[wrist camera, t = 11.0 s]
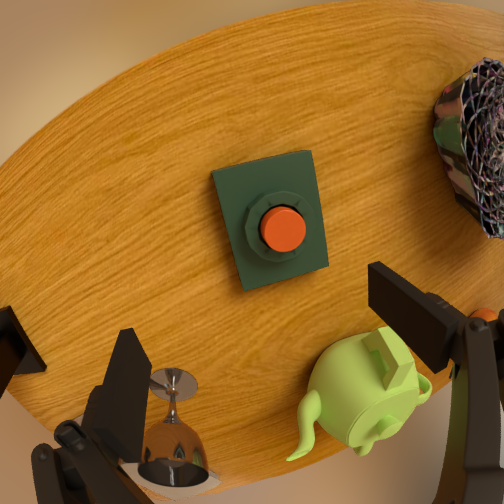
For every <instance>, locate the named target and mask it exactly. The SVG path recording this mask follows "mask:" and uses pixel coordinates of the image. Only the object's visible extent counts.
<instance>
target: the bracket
mask: <svg viewBox="0 0 504 504" xmlns="http://www.w3.org/2000/svg"><path fill="white" fill-rule="evenodd" d="M46 367H47V366H46V364H45V363H44V361H43V360H42V358H41V357H40V355H39V354H38V352H37V351H36V349H35V348H34V346H33V345H32V343H31V341H30V340H29V338H28V336H27V335H26V333H25V331H24V330H23V328H22V326H21V325H20V323H19V321H18V319H17V317H16V316H15V314H14V312H13V310H12V308H11V306H7V307H4V308H1V309H0V398H1V397H2V394H3V393H4V391H5V389H6V387H7V385H8V384H9V382H10V380H11V378H12V376H13V375H19V374H29V373H37V372H44V371H45V369H46Z"/></svg>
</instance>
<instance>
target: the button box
mask: <svg viewBox="0 0 504 504" xmlns="http://www.w3.org/2000/svg"><path fill="white" fill-rule="evenodd" d="M211 172H212V176H213V180H214V184H215V187H216V191H217V195H218V199H219V203H220V207H221V211H222V214H223V218H224V222H225V226H226V230H227V233H228V237H229V241H230V245H231V248H232V252H233V256H234V259H235V263H236V267H237V270H238V274H239V278H240V281H241V285H242V288H243V291H248V290H251V289H255V288H258V287H262V286H265V285H268V284H272V283H275V282H279V281H282V280H285V279H289V278H292V277H295V276H299V275H302V274H305V273H308V272H312V271H315V270H318V269H321V268H324V267H328V266H329V262H328V253H327V246H326V238H325V231H324V224H323V217H322V210H321V204H320V198H319V192H318V186H317V180H316V174H315V169H314V163H313V158H312V153H311V150H300V151H295V152H290V153H285V154H280V155H276V156H271V157H267V158H262V159H258V160H253V161H249V162H245V163H241V164H236V165H232V166H228V167H225V168H221V169H217V170H213V171H211ZM276 207H288V208H290V209H292V210H293V211H295V212H296V213H298V214H299V215H300V216H301V217H302V218H303V220H304V222H305V226H306V233H305V237H304V239H303V241H302V242H301V244H300V245H299V246H298V247H297V248H295V249H293V250H291V251H288V252H279V251H276V250H274V249H272V248H271V247H270V246H269V245H268V244H267V243H266V241H265V240H264V238H263V237H262V234H261V230H260V226H261V221H262V219H263V217H264V216H265V214H266V213H267V212H268V211H270V210H271V209H273V208H276Z"/></svg>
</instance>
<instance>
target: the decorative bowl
mask: <svg viewBox="0 0 504 504" xmlns="http://www.w3.org/2000/svg"><path fill="white" fill-rule="evenodd" d="M434 114H435V116H436V119H437V121H436V123H435V125H434V127H433V136H434V139H435V141H436V143H437V145H438V153H439V154H440V156H441V157H442V159H443V160H444V161H445V162H444V171H445V174H446V176H447V177H448V178H450V179H451V184H452V185H453V187H454V188H455V197H456V202H457V203H458V204H459V205H460V206H461V207H462V208H463V209H464V210H465V211H466V212H467V213H468V214H469V215H470V216H471V217H472V218H473V219H474V220H475V221H476V222H477V223H478V224H479V225H480V226H481V227H482V228H483V230H484V231H485V233H486V234H487V236H488V237H489V238H497V237H498V238H500V239H503V240H504V65H503V64H502V63H501V62H500V61H499V60H492V59H489V58H485V57H484V58H483V59H482V61H479V62H478V63H476V64H475V65H473V66H472V68H471V70H470V71H468V72H467V73H465V74H464V75H462V76H461V77H459V78H458V79H457V80H456V81H454V82H453V83H451V84H450V85H448V86H447V87H445V89H444V92H443V96H442V97H440V98H439V99H438V100H437V102H436V104H435V108H434Z"/></svg>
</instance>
